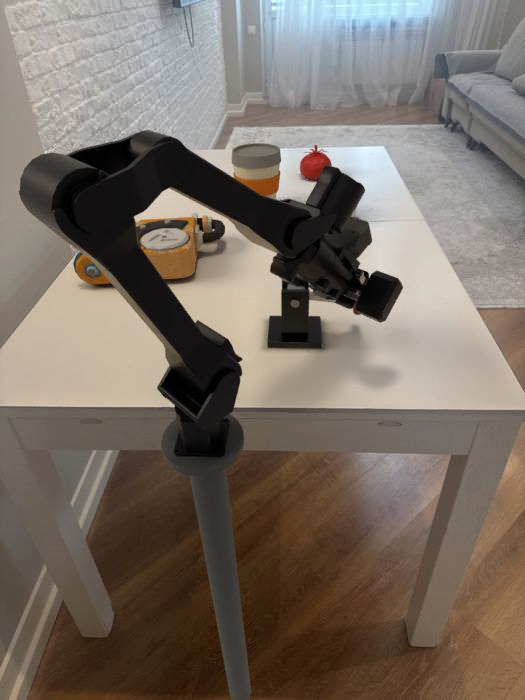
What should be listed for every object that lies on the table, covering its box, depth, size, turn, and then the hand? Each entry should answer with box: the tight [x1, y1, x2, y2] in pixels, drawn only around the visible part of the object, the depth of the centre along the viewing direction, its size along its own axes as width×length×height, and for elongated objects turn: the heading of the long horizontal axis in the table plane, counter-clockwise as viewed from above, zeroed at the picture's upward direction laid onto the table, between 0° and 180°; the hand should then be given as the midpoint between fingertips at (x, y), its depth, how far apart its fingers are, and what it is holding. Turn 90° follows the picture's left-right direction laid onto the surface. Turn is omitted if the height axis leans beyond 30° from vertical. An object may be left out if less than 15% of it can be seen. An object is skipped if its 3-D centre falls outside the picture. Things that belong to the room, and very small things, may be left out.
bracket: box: [266, 279, 323, 349], centre depth 81 cm, size 9×8×10 cm
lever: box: [287, 284, 361, 316], centre depth 79 cm, size 12×6×2 cm, turn 87°
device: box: [72, 212, 226, 286], centre depth 105 cm, size 23×8×30 cm
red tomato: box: [299, 144, 333, 181], centre depth 147 cm, size 10×10×9 cm
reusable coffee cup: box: [231, 142, 282, 199], centre depth 126 cm, size 13×13×15 cm
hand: (356, 298), depth 78 cm, fingers closed
